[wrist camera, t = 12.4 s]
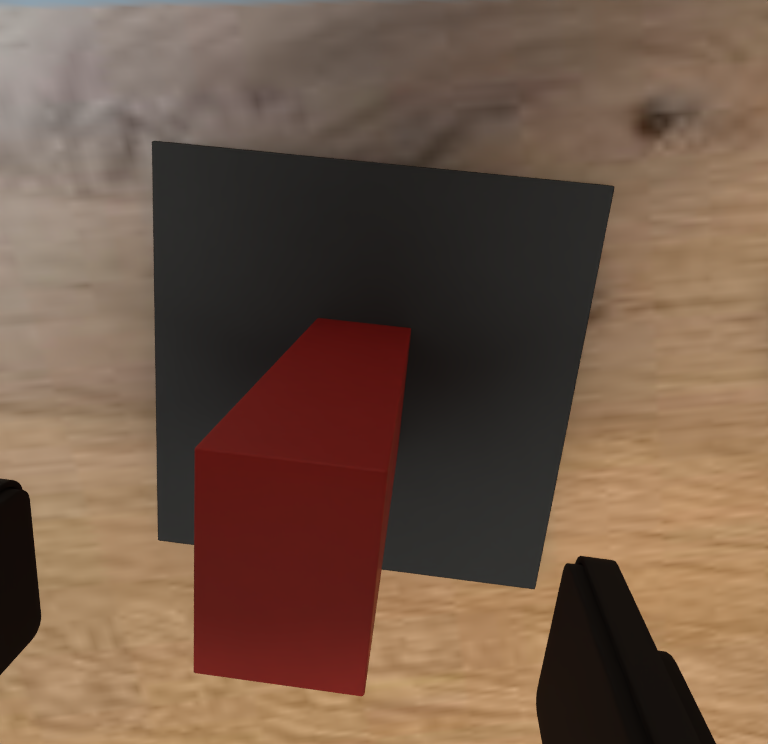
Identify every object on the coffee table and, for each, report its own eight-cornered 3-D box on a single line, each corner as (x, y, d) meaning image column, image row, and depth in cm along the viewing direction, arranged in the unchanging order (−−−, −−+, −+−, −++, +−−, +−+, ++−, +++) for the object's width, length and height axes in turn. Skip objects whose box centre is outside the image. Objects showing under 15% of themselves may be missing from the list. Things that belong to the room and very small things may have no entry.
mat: (157, 141, 21) (151, 140, 21) (611, 186, 21) (615, 185, 20) (162, 534, 26) (157, 540, 25) (533, 582, 25) (535, 590, 25)
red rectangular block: (317, 317, 22) (193, 447, 11) (411, 327, 22) (387, 471, 11) (309, 441, 24) (193, 673, 12) (397, 452, 23) (363, 697, 12)
